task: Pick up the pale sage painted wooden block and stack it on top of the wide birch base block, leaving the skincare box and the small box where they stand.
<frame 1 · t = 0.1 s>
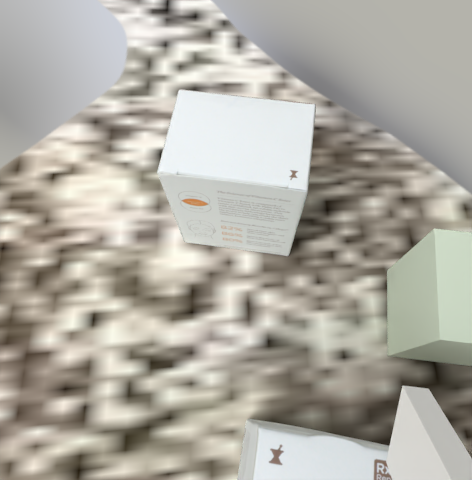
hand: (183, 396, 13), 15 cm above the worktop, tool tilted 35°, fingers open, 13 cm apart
sage block: (430, 317, 29), on the worktop
skincare box: (290, 459, 26), on the worktop
small box: (240, 218, 32), on the worktop
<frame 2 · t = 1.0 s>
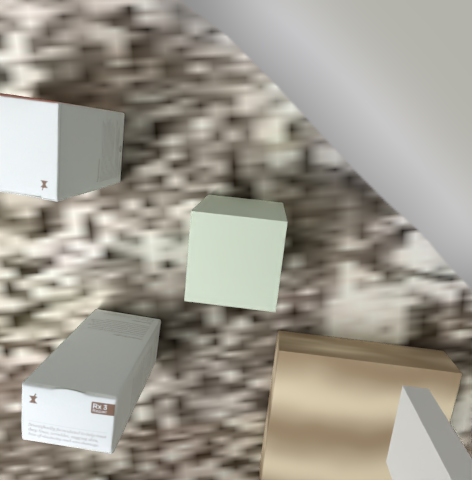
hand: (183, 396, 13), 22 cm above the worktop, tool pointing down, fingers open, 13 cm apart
sage block: (241, 234, 34), on the worktop
birch block: (345, 408, 38), on the worktop
skincare box: (129, 331, 37), on the worktop
small box: (76, 142, 34), on the worktop
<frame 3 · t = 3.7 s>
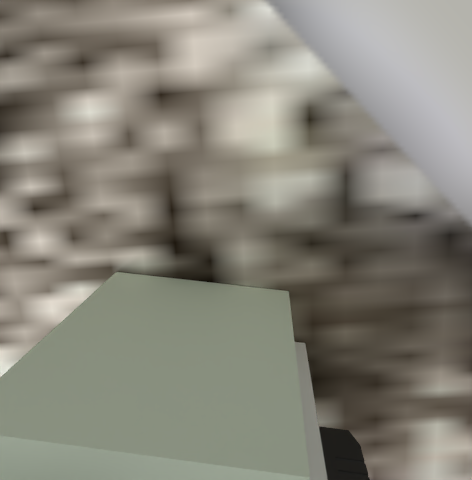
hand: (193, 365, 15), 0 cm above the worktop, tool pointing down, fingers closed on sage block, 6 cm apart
sage block: (196, 358, 15), on the worktop, touching gripper
when the fingers open (6 cm above the worktop, at t = 10.0 s): sage block drops 2 cm, point 3 cm above the worktop.
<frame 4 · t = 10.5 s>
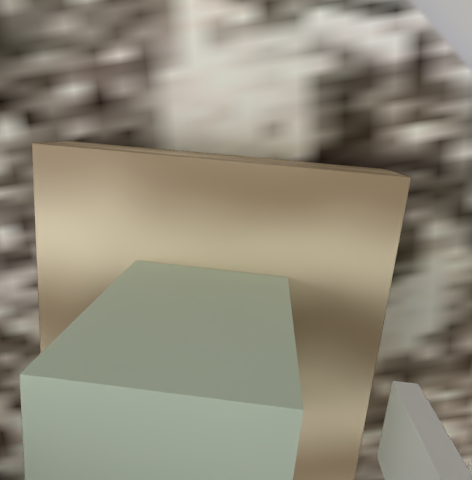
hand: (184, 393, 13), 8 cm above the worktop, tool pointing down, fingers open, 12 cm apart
sage block: (205, 337, 17), point 3 cm above the worktop
birch block: (216, 296, 21), on the worktop
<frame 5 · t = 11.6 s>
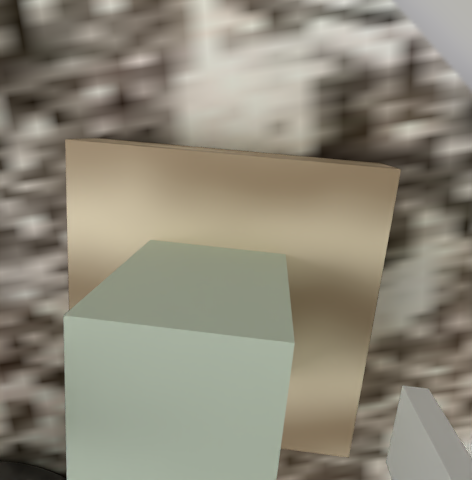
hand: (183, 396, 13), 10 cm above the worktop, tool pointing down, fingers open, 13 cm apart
sage block: (212, 309, 19), point 3 cm above the worktop, touching birch block
birch block: (226, 279, 23), on the worktop, touching sage block
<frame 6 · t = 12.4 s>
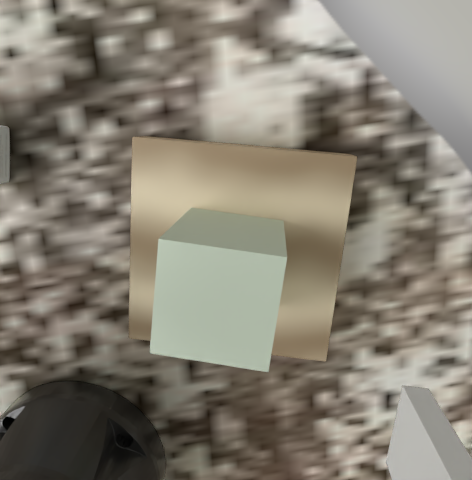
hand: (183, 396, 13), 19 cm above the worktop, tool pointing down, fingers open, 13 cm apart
sage block: (231, 258, 28), point 3 cm above the worktop, touching birch block
birch block: (238, 239, 32), on the worktop, touching sage block
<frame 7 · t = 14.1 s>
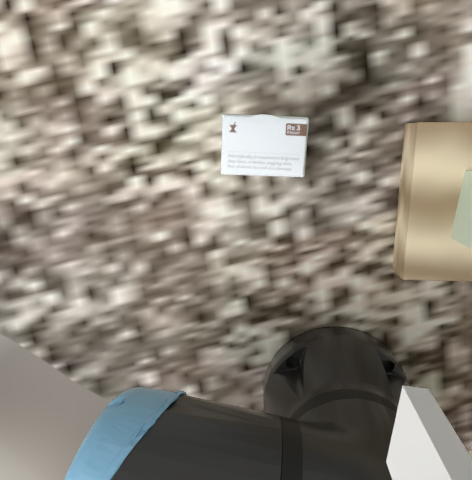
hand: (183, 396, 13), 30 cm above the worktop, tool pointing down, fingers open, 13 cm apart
birch block: (471, 198, 41), on the worktop, touching sage block
skincare box: (264, 145, 41), on the worktop
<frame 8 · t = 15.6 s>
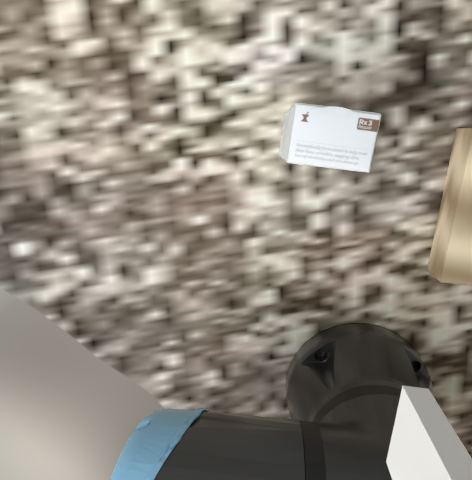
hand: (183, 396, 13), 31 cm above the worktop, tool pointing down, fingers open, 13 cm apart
skincare box: (313, 137, 41), on the worktop
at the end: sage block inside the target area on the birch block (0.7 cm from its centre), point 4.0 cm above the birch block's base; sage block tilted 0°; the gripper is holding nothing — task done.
